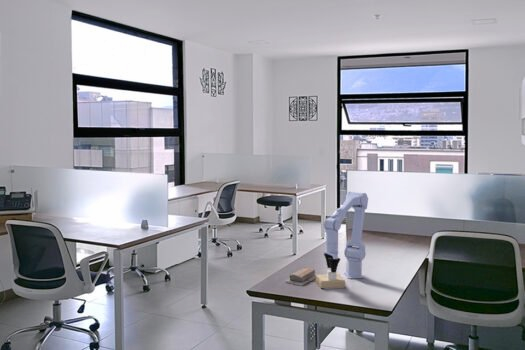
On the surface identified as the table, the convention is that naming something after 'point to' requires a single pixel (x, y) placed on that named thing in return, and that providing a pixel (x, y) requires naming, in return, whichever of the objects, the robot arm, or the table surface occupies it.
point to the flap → (331, 277)
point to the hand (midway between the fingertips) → (331, 270)
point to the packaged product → (301, 276)
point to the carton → (329, 284)
